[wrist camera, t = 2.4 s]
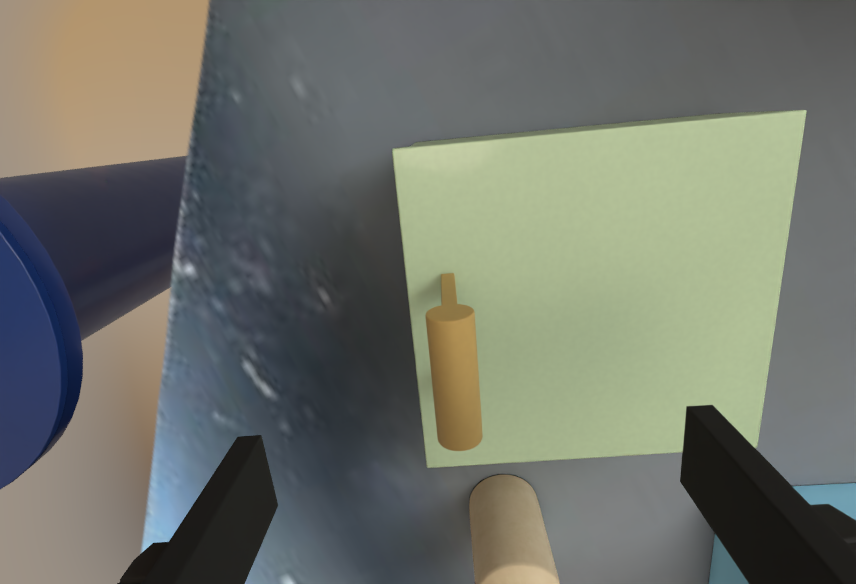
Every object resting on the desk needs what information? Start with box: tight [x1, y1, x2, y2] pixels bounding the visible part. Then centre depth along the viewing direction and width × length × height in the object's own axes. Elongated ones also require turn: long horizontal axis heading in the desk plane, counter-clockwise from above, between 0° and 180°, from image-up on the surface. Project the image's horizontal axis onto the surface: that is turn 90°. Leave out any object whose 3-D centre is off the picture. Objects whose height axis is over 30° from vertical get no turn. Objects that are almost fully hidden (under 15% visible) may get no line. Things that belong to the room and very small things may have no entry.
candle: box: [469, 475, 560, 584], centre depth 35 cm, size 6×6×10 cm
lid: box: [392, 110, 806, 468], centre depth 23 cm, size 19×19×8 cm
